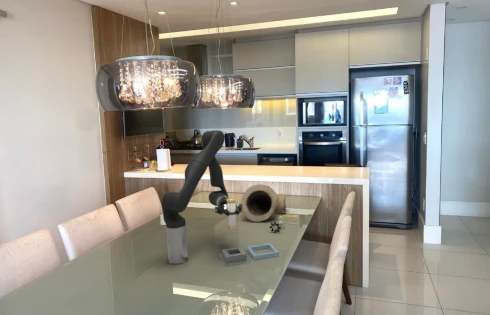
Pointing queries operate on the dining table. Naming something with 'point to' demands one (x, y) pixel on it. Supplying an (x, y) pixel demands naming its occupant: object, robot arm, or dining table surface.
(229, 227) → the capped white cylinder
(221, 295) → the dining table surface
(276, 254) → the parts tray
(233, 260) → the block
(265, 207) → the pipe
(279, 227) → the valve
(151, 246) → the dining table surface
